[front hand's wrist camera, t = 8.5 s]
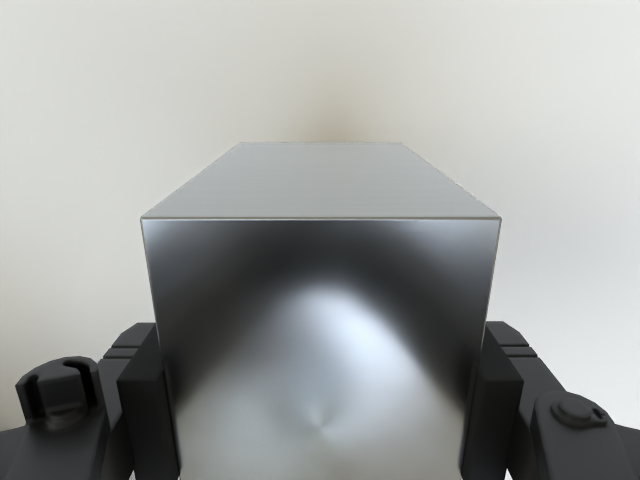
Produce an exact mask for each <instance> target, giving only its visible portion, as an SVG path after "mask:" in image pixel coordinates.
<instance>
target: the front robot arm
mask: <svg viewBox="0 0 640 480" xmlns="http://www.w3.org/2000/svg"><path fill="white" fill-rule="evenodd" d="M15 387H16V390H17V393H18V397H19V400H20V403H21V407H22V410H23V413H24V417H25V420H26V425H25V426H23V427H19V428H15V429H11V430H6V431H2V432H0V480H129V478H130V476H131V474H132V472H133V470H134V473H135V478H136V480H178V477H179V470H178V463H177V457H176V450H175V444H174V437H173V431H172V424H171V418H170V411H169V405H168V398H167V392H166V385H165V379H164V372H163V366H162V359H161V353H160V346H159V340H158V333H157V327H156V323H136V324H135V325H133V326H132V327H130V328H129V329H127V330H126V331H124V332H123V333H121V335H120V336H119V337H118V338H117V340H116V341H115V342H114V343H113V345H112V347H111V348H109V350H108V351H107V352H106V354H105V355H104V356H103V359H101V360H100V361H99V362H98V364H97V363H96V362H94V361H93V360H92V359H91V358H86V357H81V356H76V357H64V358H60V359H57V360H53V361H49V362H47V363H45V364H43V365H40V366H38V367H36V368H34V369H33V370H31V371H30V372H28V373H27V374H25V375H24V376H23V377H22V378H21V379H20V380H19V382H18V383H17V384H16V385H15ZM507 469H508V471H509V473H510V475H511V477H512V479H513V480H640V430H638V429H633V428H629V427H624V426H621V425H617V424H614V422H613V420H612V419H611V418H610V416H609V415H608V413H607V412H606V411H605V410H603V409H602V408H601V407H600V406H598V405H597V404H596V403H594V402H592V401H590V400H588V399H586V398H584V397H582V396H580V395H577V394H573V393H570V392H567V391H566V390H565V389H564V388H563V386H562V385H561V384H560V383H559V381H558V380H557V379H556V378H555V376H554V375H553V374H552V373H551V371H550V370H549V369H548V368H547V366H546V365H545V364H544V363H543V361H542V360H541V359H540V358H538V357H537V354H536V353H535V351H534V350H533V349H532V348H531V347H529V344H528V343H527V341H526V340H525V339H524V338H523V336H522V335H521V334H520V332H518V331H517V330H515V329H514V328H512V327H511V326H509V325H508V324H506V323H505V322H503V321H486V324H485V330H484V337H483V343H482V350H481V356H480V362H479V369H478V372H477V378H476V385H475V391H474V398H473V404H472V411H471V417H470V424H469V430H468V437H467V443H466V450H465V456H464V463H463V469H462V479H463V480H504V479H505V474H506V470H507Z"/></svg>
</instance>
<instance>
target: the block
mask: <svg viewBox="0 0 640 480" xmlns="http://www.w3.org/2000/svg"><path fill="white" fill-rule="evenodd" d="M501 221H502V219H501V217H500V216H499V215H498V214H496V213H495V212H494V211H492V210H491V209H490V208H488V207H487V206H486V205H484V204H483V203H482V202H480V201H479V200H477V199H476V198H475V197H473V196H472V195H471V194H469V193H468V192H467V191H465V190H464V189H463V188H461V187H460V186H459V185H457V184H456V183H455V182H453V181H452V180H450V179H449V178H448V177H446V176H445V175H444V174H442V173H441V172H440V171H438V170H437V169H436V168H434V167H433V166H432V165H430V164H429V163H428V162H426V161H425V160H424V159H422V158H421V157H419V156H418V155H417V154H415V153H414V152H413V151H411V150H410V149H409V148H407V147H406V146H405V145H403V144H402V143H400V142H240V143H239V144H237V145H236V146H235V147H233V148H232V149H231V150H229V151H228V152H227V153H225V154H224V155H223V156H221V157H220V158H219V159H217V160H216V161H215V162H213V163H212V164H211V165H209V166H208V167H207V168H205V169H204V170H203V171H201V172H200V173H199V174H197V175H196V176H195V177H193V178H192V179H191V180H189V181H188V182H187V183H185V184H184V185H183V186H181V187H180V188H179V189H177V190H176V191H175V192H173V193H172V194H171V195H169V196H168V197H167V198H165V199H164V200H163V201H161V202H160V203H159V204H157V205H156V206H155V207H153V208H152V209H151V210H149V211H148V212H147V213H145V214H144V215H143V216H141V218H140V222H141V229H142V235H143V242H144V248H145V255H146V261H147V268H148V274H149V281H150V287H151V294H152V300H153V307H154V314H155V320H156V327H157V333H158V340H159V346H160V353H161V359H162V366H163V372H164V379H165V385H166V392H167V398H168V405H169V411H170V418H171V424H172V431H173V437H174V444H175V450H176V457H177V463H178V470H179V476H180V480H461V479H462V469H463V463H464V456H465V450H466V443H467V437H468V430H469V424H470V417H471V411H472V404H473V398H474V391H475V385H476V378H477V372H478V369H479V362H480V356H481V350H482V343H483V337H484V330H485V324H486V317H487V311H488V304H489V298H490V291H491V285H492V279H493V272H494V266H495V259H496V253H497V246H498V240H499V233H500V227H501Z"/></svg>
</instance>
